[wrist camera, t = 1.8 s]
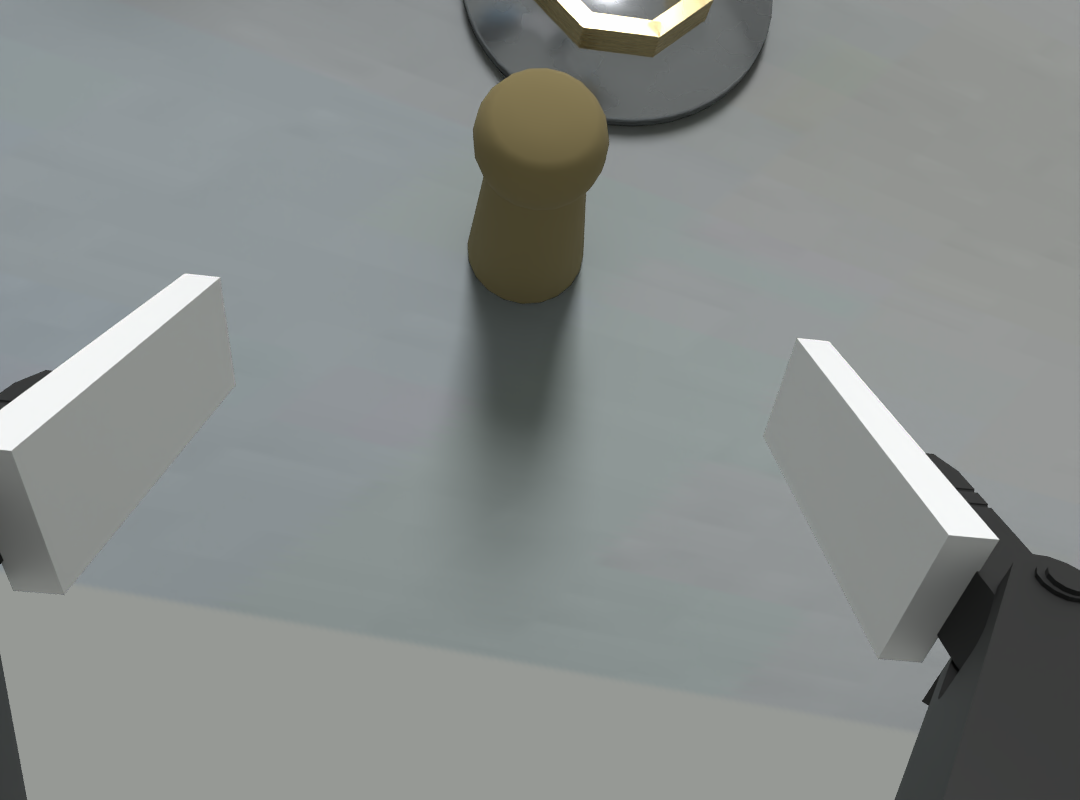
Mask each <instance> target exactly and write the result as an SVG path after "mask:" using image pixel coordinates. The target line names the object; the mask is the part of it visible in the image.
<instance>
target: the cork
mask: <svg viewBox="0 0 1080 800" xmlns="http://www.w3.org/2000/svg"><path fill="white" fill-rule="evenodd" d="M473 139H474V151H475V159H476V161H477V163H478V165H479V167H480V170H481V172H482V174H483V176H484V177H483V181H482V185H481V190H480V194H479V198H478V202H477V206H476V211H475V215H474V219H473V223H472V227H471V232H470V236H469V240H468V255H469V262H470V264H471V267H472V269H473V271H474V273H475V276H476V277H477V278H478V279H479V281H480V282H481V283H482V284H483V285H484V286H485V287H486V288H487V289H488V290H489V291H491V292H492V293H494V294H496V295H497V296H499V297H501V298H503V299H505V300H509V301H513V302H517V303H522V304H523V303H540V302H543V301H545V300H548V299H551V298H553V297H556V296H558V295H559V294H560V293H562V292H563V291H564V290H565V289H566V288H568V287H569V286H570V285H571V284H572V282H573V281H574V279H575V277H576V276H577V274H578V273H579V271H580V267H581V262H582V258H583V247H584V225H585V202H586V192H587V191H588V190H589V189H590V188H591V187H592V185H593V184H594V182H595V181H596V179H597V178H598V176H599V175H600V173H601V171H602V169H603V166H604V163H605V160H606V155H607V151H608V146H609V137H608V128H607V121H606V116H605V114H604V112H603V110H602V108H601V106H600V104H599V102H598V100H597V98H596V97H595V96H594V94H593V93H592V92H591V91H590V90H589V89H588V88H587V87H586V86H585V85H584V84H583V83H582V82H581V81H579V80H577V79H576V78H574V77H572V76H570V75H569V74H567V73H565V72H561V71H557V70H553V69H549V68H531V69H526V70H523V71H520V72H517V73H513V74H511V75H510V76H508V77H507V78H505V79H504V80H503V81H501V82H500V83H498V84H497V85H496V86H494V87H493V88H492V89H491V90H490V92H489V93H488V94H487V96H486V97H485V98H484V100H483V101H482V103H481V105H480V107H479V110H478V113H477V117H476V120H475V124H474V127H473Z"/></svg>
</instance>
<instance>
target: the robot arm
mask: <svg viewBox="0 0 1080 800" xmlns="http://www.w3.org/2000/svg"><path fill="white" fill-rule="evenodd" d="M235 385H236V383H235V377H234V370H233V363H232V356H231V349H230V342H229V335H228V328H227V321H226V314H225V308H224V301H223V294H222V287H221V280H220V277H212V276H202V275H193V274H184V275H182V276H181V277H180V278H178V279H177V280H175V281H174V282H173V283H171V284H170V285H169V286H167V287H166V288H165V289H163V290H162V291H161V292H159V293H158V294H156V295H155V296H154V297H152V298H151V299H150V300H148V301H147V302H146V303H144V304H143V305H142V306H140V307H139V308H137V309H136V310H135V311H133V312H132V313H131V314H129V315H128V316H127V317H125V318H124V319H123V320H121V321H120V322H119V323H117V324H116V325H114V326H113V327H112V328H110V329H109V330H108V331H106V332H105V333H104V334H102V335H101V336H100V337H98V338H97V339H95V340H94V341H93V342H91V343H90V344H89V345H87V346H86V347H85V348H83V349H82V350H81V351H79V352H78V353H77V354H75V355H74V356H72V357H71V358H70V359H68V360H67V361H66V362H64V363H63V364H62V365H60V366H59V367H58V368H56V369H55V370H53V371H49V370H45V371H43V372H40V373H38V374H35V375H33V376H30V377H28V378H25V379H23V380H20V381H18V382H15V383H14V384H12V385H11V386H9V387H8V388H7V389H5V390H4V391H2V392H1V393H0V564H1V563H2V565H3V568H4V570H5V572H6V575H7V577H8V579H9V581H10V584H11V586H12V589H13V591H23V592H36V593H48V594H61V595H64V594H65V593H66V592H67V590H68V589H69V588H70V587H71V586H72V585H73V583H74V582H75V581H76V580H77V579H78V577H79V576H80V575H81V574H82V572H83V571H84V570H85V569H86V568H87V566H88V565H89V564H90V563H91V561H92V560H93V559H94V558H95V557H96V555H97V554H98V553H99V552H100V550H101V549H102V548H103V547H104V546H105V544H106V543H107V542H108V541H109V539H110V538H111V537H112V536H113V535H114V533H115V532H116V531H117V530H118V528H119V527H120V526H121V525H122V524H123V522H124V521H125V520H126V519H127V517H128V516H129V515H130V514H131V513H132V511H133V510H134V509H135V508H136V506H137V505H138V504H139V503H140V502H141V500H142V499H143V498H144V497H145V495H146V494H147V493H148V492H149V491H150V489H151V488H152V487H153V486H154V484H155V483H156V482H157V481H158V480H159V478H160V477H161V476H162V475H163V473H164V472H165V471H166V470H167V468H168V467H169V466H170V465H171V464H172V462H173V461H174V460H175V459H176V457H177V456H178V455H179V454H180V453H181V451H182V450H183V449H184V448H185V446H186V445H187V444H188V443H189V442H190V440H191V439H192V438H193V437H194V435H195V434H196V433H197V432H198V431H199V429H200V428H201V427H202V426H203V424H204V423H205V422H206V421H207V420H208V418H209V417H210V416H211V415H212V413H213V412H214V411H215V410H216V409H217V407H218V406H219V405H220V404H221V402H222V401H223V400H224V399H225V398H226V396H227V395H228V394H229V393H230V391H231V390H232V389H233V388H234V387H235ZM763 437H764V439H765V441H766V443H767V445H768V447H769V449H770V450H771V452H772V454H773V456H774V458H775V460H776V462H777V464H778V466H779V468H780V470H781V472H782V474H783V476H784V478H785V480H786V482H787V483H788V485H789V487H790V489H791V491H792V493H793V495H794V497H795V499H796V501H797V503H798V505H799V507H800V509H801V511H802V513H803V515H804V516H805V518H806V520H807V522H808V524H809V526H810V528H811V530H812V532H813V534H814V536H815V538H816V540H817V542H818V544H819V546H820V548H821V549H822V551H823V553H824V555H825V557H826V559H827V561H828V563H829V565H830V567H831V569H832V571H833V573H834V575H835V577H836V579H837V581H838V582H839V584H840V586H841V588H842V590H843V592H844V594H845V596H846V598H847V600H848V602H849V604H850V606H851V608H852V610H853V612H854V614H855V615H856V617H857V619H858V621H859V623H860V625H861V627H862V629H863V631H864V633H865V635H866V637H867V639H868V641H869V643H870V645H871V647H872V648H873V650H874V652H875V654H876V656H877V658H878V659H884V660H896V661H909V662H923V661H924V659H925V657H926V656H927V654H928V653H929V651H930V649H931V648H932V646H933V645H934V643H935V641H936V640H937V638H939V639H940V641H941V642H942V644H943V645H944V647H945V649H946V650H947V652H948V653H949V655H950V657H951V658H950V659H949V661H948V662H947V664H946V665H945V667H944V669H943V670H942V672H941V673H940V675H939V676H938V678H937V679H936V681H935V682H934V684H933V685H932V687H931V688H930V690H929V691H928V693H927V694H926V696H925V697H924V699H923V700H922V702H924V703H925V704H927V705H929V707H928V710H927V712H926V715H925V718H924V721H923V723H922V726H921V729H920V732H919V734H918V737H917V740H916V743H915V746H914V748H913V751H912V754H911V756H910V759H909V762H908V765H907V767H906V770H905V773H904V775H903V778H902V781H901V784H900V786H899V790H898V792H897V795H896V797H895V800H1080V570H1078V569H1076V568H1075V567H1073V566H1071V565H1069V564H1067V563H1064V562H1062V561H1059V560H1056V559H1053V558H1051V557H1048V556H1041V555H1035V554H1032V553H1031V552H1030V551H1029V550H1028V548H1027V547H1026V546H1025V545H1024V544H1023V543H1022V542H1021V541H1020V540H1019V538H1018V537H1017V536H1016V535H1015V534H1014V533H1013V532H1012V531H1011V529H1010V528H1009V527H1008V526H1007V525H1006V524H1005V523H1004V522H1003V521H1002V519H1001V518H1000V517H999V516H998V515H997V514H996V513H995V512H994V511H993V509H992V508H988V507H987V505H988V504H987V503H986V502H985V501H984V499H983V498H982V497H981V496H980V495H979V494H978V493H974V488H973V487H972V486H971V485H970V484H969V483H968V482H967V480H966V479H965V478H964V477H963V476H962V475H961V474H960V473H959V472H958V471H957V470H956V469H954V468H953V467H951V466H950V465H949V464H947V463H946V462H944V461H943V460H941V459H940V458H938V457H937V456H936V455H934V454H928V453H924V451H923V450H922V449H921V448H920V447H919V446H918V444H917V443H916V442H915V441H914V440H913V439H912V437H911V436H910V435H909V434H908V433H907V432H906V431H905V429H904V428H903V427H902V426H901V425H900V424H899V422H898V421H897V420H896V419H895V418H894V417H893V415H892V414H891V413H890V412H889V411H888V410H887V408H886V407H885V406H884V405H883V404H882V403H881V401H880V400H879V399H878V398H877V397H876V396H875V394H874V393H873V392H872V391H871V390H870V389H869V387H868V386H867V385H866V384H865V383H864V382H863V380H862V379H861V378H860V377H859V376H858V375H857V374H856V372H855V371H854V370H853V369H852V368H851V367H850V365H849V364H848V363H847V362H846V361H845V360H844V358H843V357H842V356H841V355H840V354H839V353H838V351H837V350H836V349H835V348H834V347H833V346H832V344H831V343H830V342H829V341H820V340H811V339H801V338H797V339H796V342H795V345H794V348H793V351H792V354H791V357H790V359H789V362H788V365H787V368H786V371H785V374H784V377H783V380H782V383H781V386H780V389H779V391H778V394H777V397H776V400H775V403H774V406H773V409H772V412H771V415H770V418H769V420H768V423H767V426H766V429H765V432H764V435H763ZM0 800H27V797H26V792H25V786H24V781H23V775H22V770H21V764H20V759H19V753H18V749H17V743H16V737H15V732H14V727H13V722H12V716H11V710H10V705H9V699H8V694H7V689H6V683H5V677H4V672H3V667H2V661H1V656H0Z"/></svg>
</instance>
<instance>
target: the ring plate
mask: <svg viewBox="0 0 1080 800" xmlns="http://www.w3.org/2000/svg"><path fill="white" fill-rule="evenodd" d="M772 1H773V0H464V2H465V7H466V11H467V14H468V18H469V22H470V24H471V26H472V28H473V31H474V33H475V35H476V38H477V39H478V41H479V43H480V44H481V46H482V48H483V49H484V51H485V52H486V54H487V55H488V57H489V58H490V59H491V60H492V61H493V63H494V64H495V65H496V66H497V68H498V69H499V70H500V71H501V72H502V73H503V74H504V75H505V76H506V77H508V76H510V75H511V74H513V73H517V72H520V71H523V70H526V69H531V68H549V69H553V70H557V71H561V72H565V73H567V74H569V75H570V76H572V77H574V78H576V79H577V80H579V81H581V82H582V83H583V84H584V85H585V86H586V87H587V88H588V89H589V90H590V91H591V92H592V93H593V94H594V96H595V97H596V98H597V100H598V102H599V104H600V106H601V108H602V110H603V112H604V114H605V116H606V121H607V124H609V125H623V126H639V125H653V124H659V123H665V122H670V121H674V120H677V119H680V118H684V117H687V116H690V115H692V114H694V113H696V112H699V111H701V110H703V109H705V108H707V107H709V106H710V105H712V104H713V103H715V102H717V101H718V100H720V99H721V98H723V97H724V96H725V95H726V94H727V93H728V92H730V91H731V90H732V89H733V88H734V87H735V86H736V85H737V84H738V83H739V82H740V81H741V79H742V78H743V77H744V76H745V75H746V73H747V72H748V70H749V69H750V67H751V65H752V64H753V62H754V61H755V59H756V57H757V55H758V53H759V52H760V50H761V48H762V45H763V43H764V40H765V38H766V36H767V33H768V29H769V25H770V20H771V15H772Z"/></svg>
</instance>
